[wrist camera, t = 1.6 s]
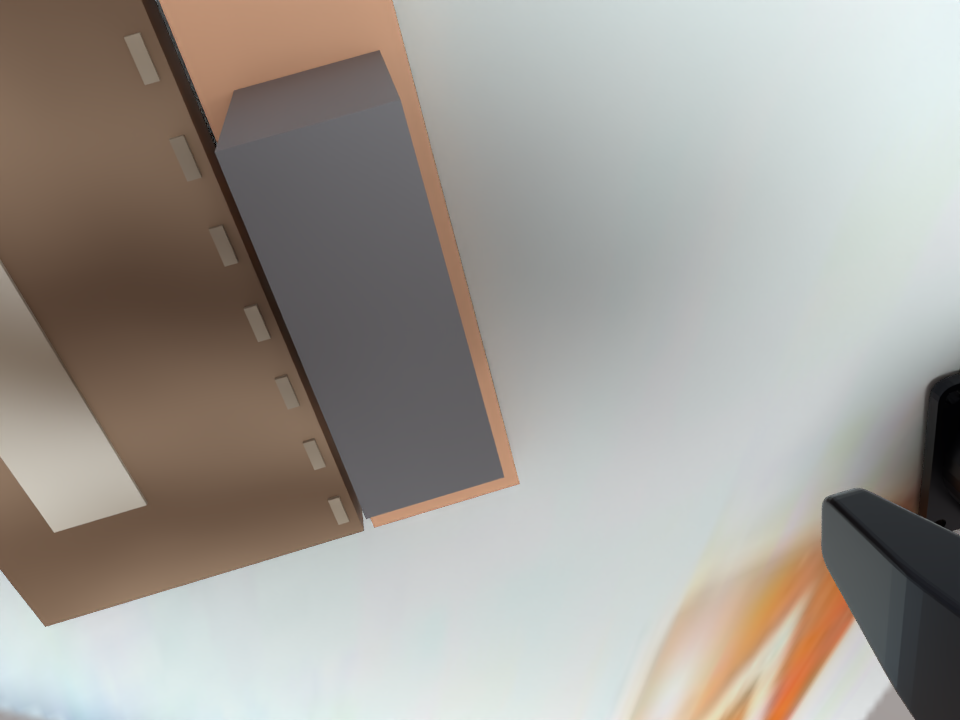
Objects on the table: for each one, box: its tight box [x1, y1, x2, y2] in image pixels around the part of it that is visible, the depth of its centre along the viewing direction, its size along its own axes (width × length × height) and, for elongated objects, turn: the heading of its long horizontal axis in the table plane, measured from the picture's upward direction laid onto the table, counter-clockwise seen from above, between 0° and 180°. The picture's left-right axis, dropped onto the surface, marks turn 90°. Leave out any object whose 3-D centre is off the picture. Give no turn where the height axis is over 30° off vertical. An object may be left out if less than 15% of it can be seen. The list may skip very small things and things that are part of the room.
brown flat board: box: [0, 0, 364, 627], centre depth 19 cm, size 16×9×1 cm, turn 13°
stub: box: [159, 0, 520, 528], centre depth 17 cm, size 16×4×5 cm, turn 13°
